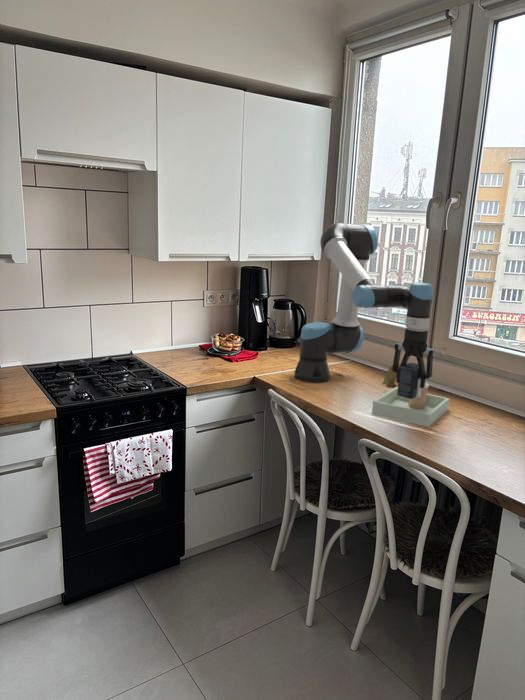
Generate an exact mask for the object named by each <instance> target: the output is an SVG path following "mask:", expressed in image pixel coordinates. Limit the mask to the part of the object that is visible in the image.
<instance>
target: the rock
mask: <svg viewBox="0 0 525 700" xmlns="http://www.w3.org/2000/svg"><path fill="white" fill-rule="evenodd" d="M400 364H401V363H399V366H400ZM399 366H398V369H399ZM392 367H393V364H391V365H390V367H389V368H388V370H387V371H386V372H385V374H384V378H383V381H382V384H383V385H385V386H386V388H390V389H391V388H392V389H394V384H395V382H396V380H397V373H396V372H393V371H392Z"/></svg>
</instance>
